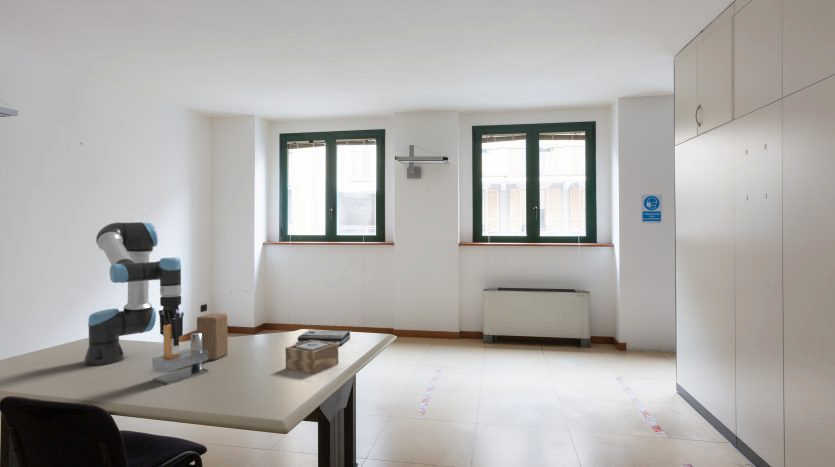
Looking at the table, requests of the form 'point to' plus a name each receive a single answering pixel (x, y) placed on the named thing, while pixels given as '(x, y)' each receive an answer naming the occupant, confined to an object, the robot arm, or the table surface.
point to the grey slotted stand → (183, 362)
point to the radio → (325, 336)
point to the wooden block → (213, 334)
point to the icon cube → (312, 346)
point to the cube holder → (311, 358)
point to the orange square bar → (168, 342)
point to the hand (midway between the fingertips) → (171, 352)
